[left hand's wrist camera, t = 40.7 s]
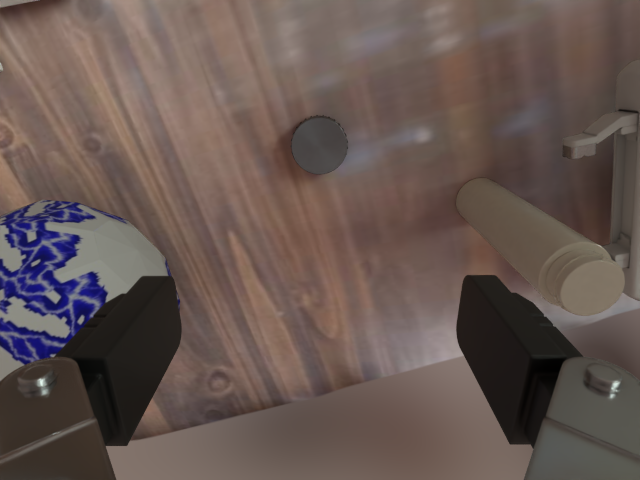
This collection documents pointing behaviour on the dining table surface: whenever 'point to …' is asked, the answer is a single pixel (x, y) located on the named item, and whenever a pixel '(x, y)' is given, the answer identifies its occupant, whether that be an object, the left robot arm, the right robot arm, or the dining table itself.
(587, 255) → the bottle
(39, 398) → the left robot arm
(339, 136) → the lid
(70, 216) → the ornament
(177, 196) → the dining table surface
